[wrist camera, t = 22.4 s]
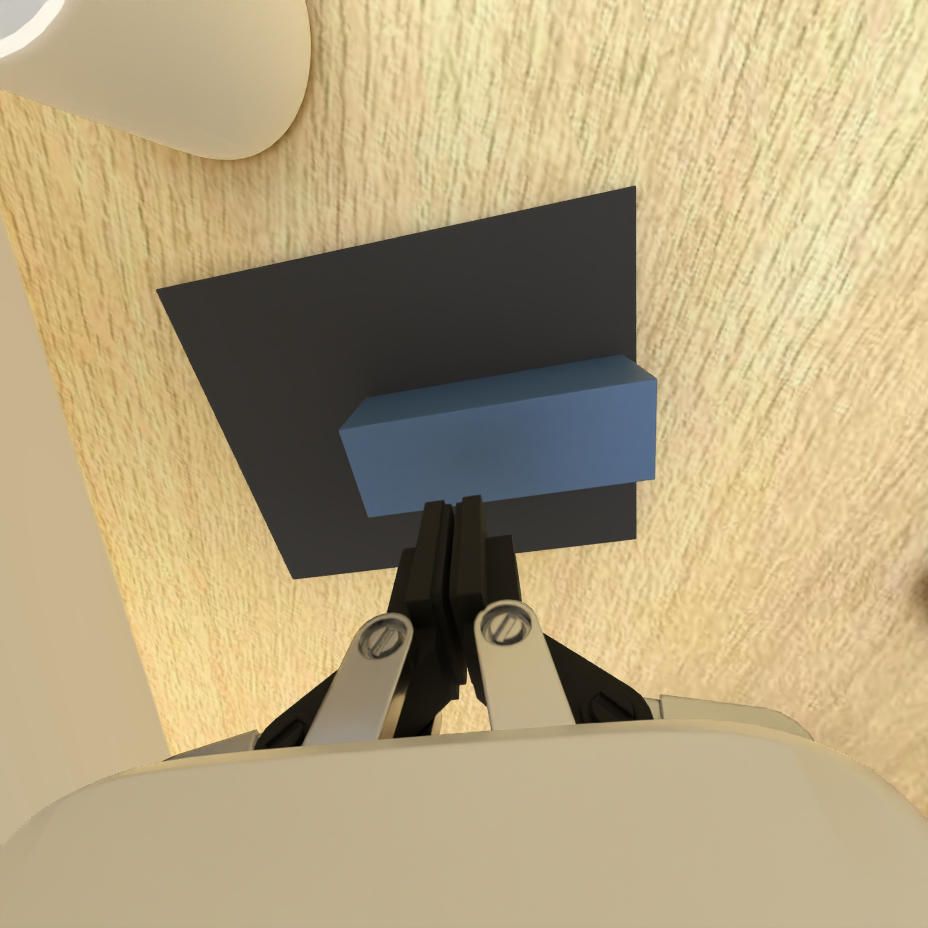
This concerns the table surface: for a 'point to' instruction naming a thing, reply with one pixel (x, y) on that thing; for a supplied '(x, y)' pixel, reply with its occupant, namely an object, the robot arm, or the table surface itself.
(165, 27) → the mug
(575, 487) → the block
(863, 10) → the table surface
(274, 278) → the mat
